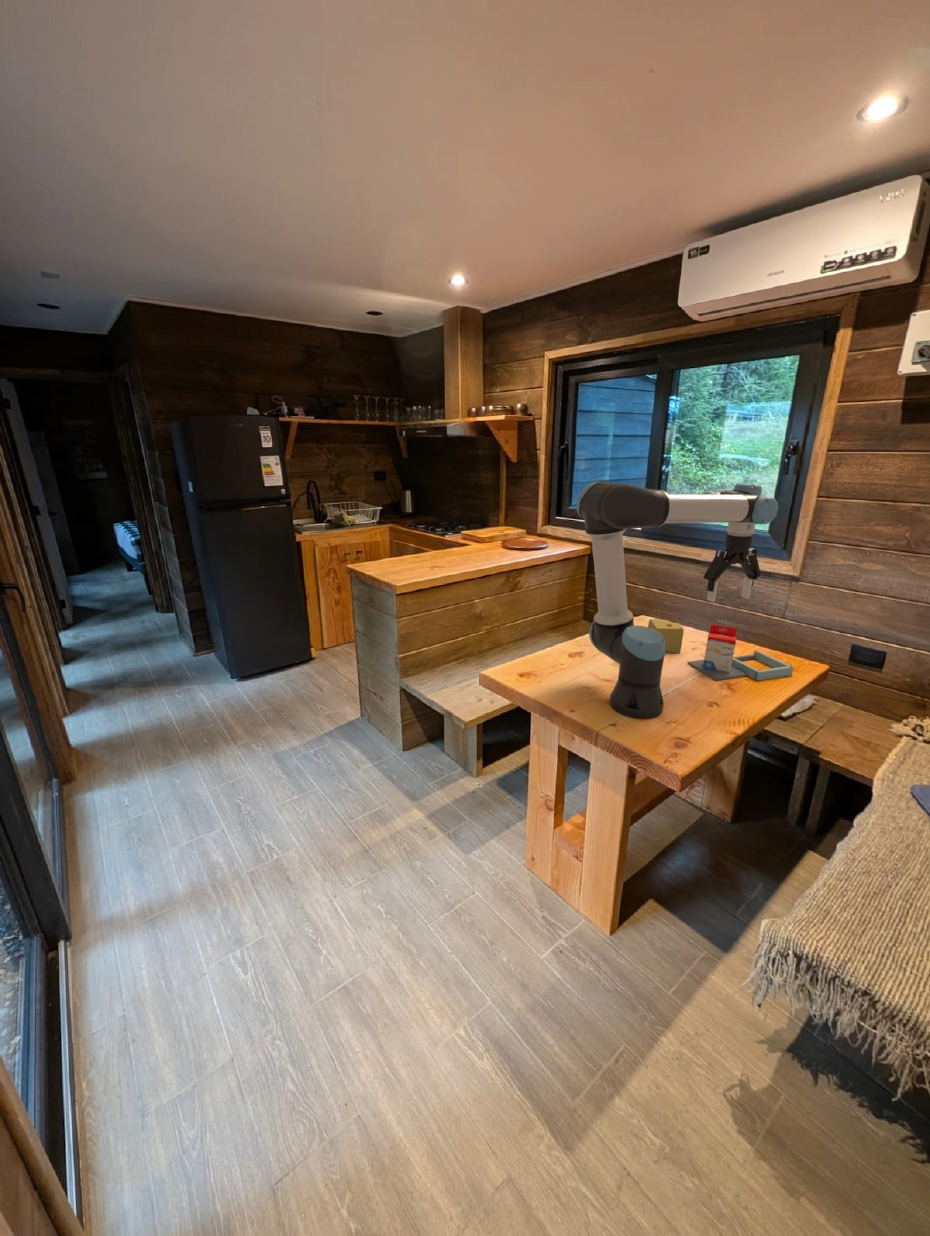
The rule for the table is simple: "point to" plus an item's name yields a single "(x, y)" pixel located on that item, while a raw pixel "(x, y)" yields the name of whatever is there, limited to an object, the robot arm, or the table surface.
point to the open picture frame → (777, 670)
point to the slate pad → (715, 673)
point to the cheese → (669, 634)
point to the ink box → (720, 648)
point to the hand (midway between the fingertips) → (727, 599)
